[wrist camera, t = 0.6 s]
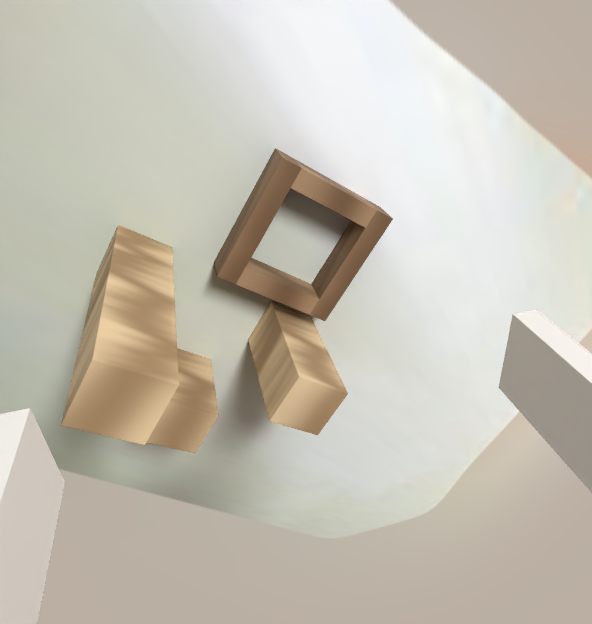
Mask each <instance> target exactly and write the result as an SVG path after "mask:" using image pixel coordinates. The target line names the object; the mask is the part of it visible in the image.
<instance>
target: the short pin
mask: <svg viewBox="0 0 592 624" xmlns="http://www.w3.org/2000/svg"><path fill="white" fill-rule="evenodd" d="M177 356H178V377H179V386H178V388H177V389H176V391H175V393H174V395H173V396H172V398H171V400H170V402H169V403H168V405H167V407H166V409H165V410H164V412H163V414H162V416H161V417H160V419H159V421H158V423H157V425H156V426H155V428H154V430H153V432H152V433H151V435H150V437H149V439H148V440H147V442H148V443H152V444H157V445H161V446H165V447H169V448H173V449H178V450H182V451H186V452H190V453H194V454H195V453H196V451H197V450H198V448H199V446H200V445H201V443H202V442H203V440H204V438H205V437H206V435H207V434H208V432H209V430H210V429H211V427H212V426H213V424H214V422H215V421H216V419H217V418H218V416H219V414H218V407H217V400H216V393H215V386H214V379H213V372H212V365H211V359H208V358H205V357H202V356H199V355H196V354H193V353H190V352H187V351H184V350H181V349H178V348H177Z"/></svg>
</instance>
